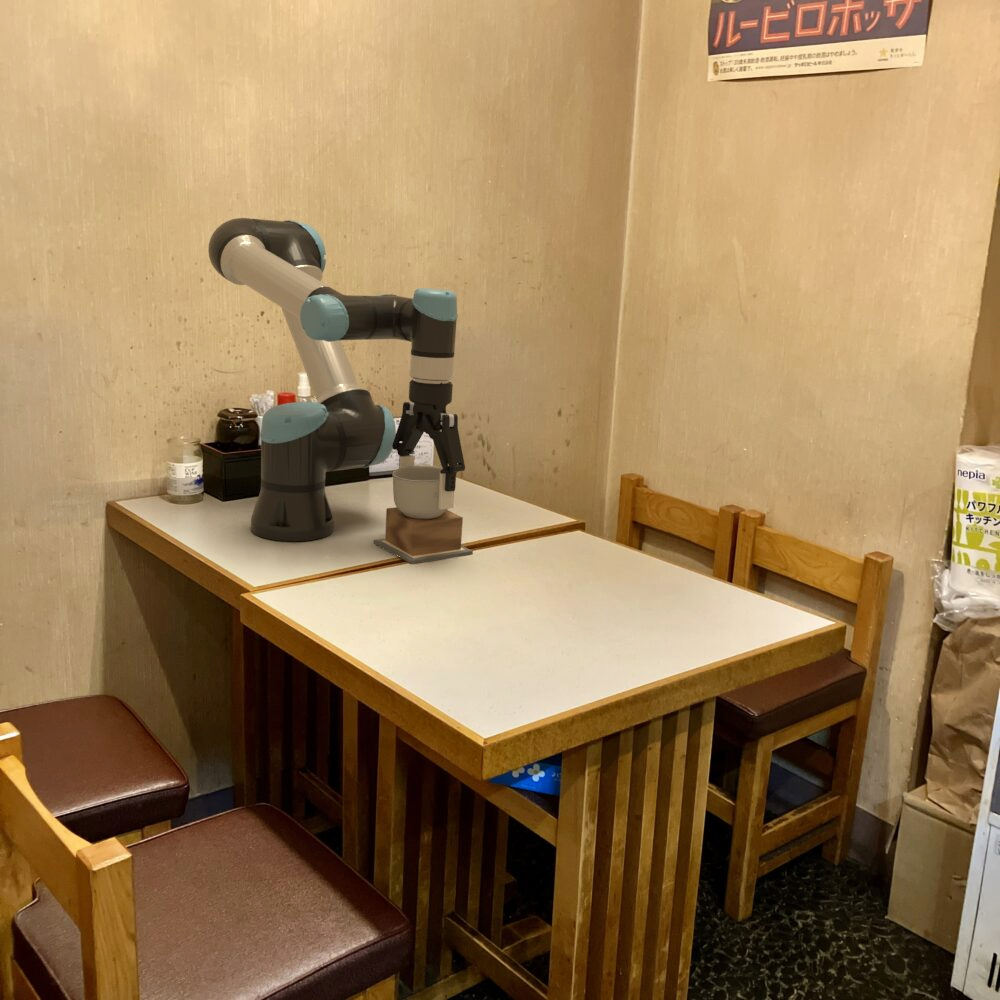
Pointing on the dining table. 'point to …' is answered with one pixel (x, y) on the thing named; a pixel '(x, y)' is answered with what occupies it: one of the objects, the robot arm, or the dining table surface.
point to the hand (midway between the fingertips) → (425, 499)
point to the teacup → (417, 491)
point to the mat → (421, 558)
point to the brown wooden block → (423, 532)
